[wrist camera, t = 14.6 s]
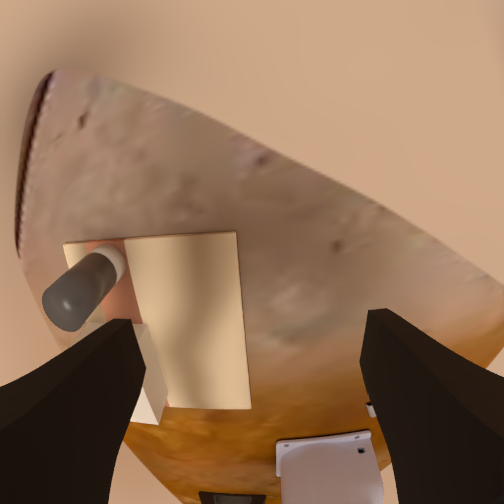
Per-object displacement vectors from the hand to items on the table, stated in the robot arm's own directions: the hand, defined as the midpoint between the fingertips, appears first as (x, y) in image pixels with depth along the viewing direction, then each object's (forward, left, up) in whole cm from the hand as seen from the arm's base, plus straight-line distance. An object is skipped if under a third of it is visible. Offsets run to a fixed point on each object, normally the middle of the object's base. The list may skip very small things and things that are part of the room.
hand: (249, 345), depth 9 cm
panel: (+7, +7, -10) cm, 14 cm away
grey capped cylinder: (+10, +1, -10) cm, 13 cm away
